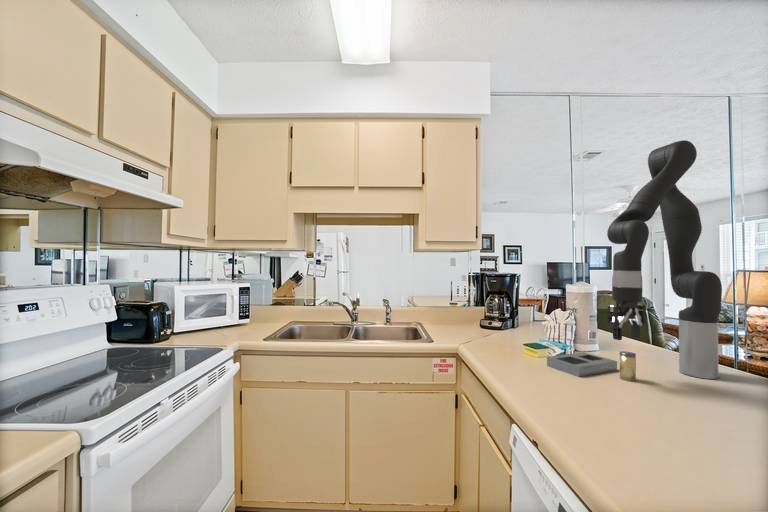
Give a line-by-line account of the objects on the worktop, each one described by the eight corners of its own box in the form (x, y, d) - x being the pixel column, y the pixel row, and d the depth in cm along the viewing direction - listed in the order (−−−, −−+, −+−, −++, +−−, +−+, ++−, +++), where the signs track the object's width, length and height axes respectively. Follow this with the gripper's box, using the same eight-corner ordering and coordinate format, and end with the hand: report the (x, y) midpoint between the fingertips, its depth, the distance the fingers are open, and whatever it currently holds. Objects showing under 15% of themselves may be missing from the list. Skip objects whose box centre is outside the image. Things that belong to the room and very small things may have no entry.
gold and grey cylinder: (625, 376, 104) (624, 350, 104) (639, 380, 101) (638, 354, 101) (616, 378, 103) (616, 352, 103) (630, 382, 99) (630, 355, 99)
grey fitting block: (583, 360, 122) (583, 352, 122) (617, 370, 110) (617, 361, 111) (546, 365, 115) (546, 357, 115) (579, 376, 104) (579, 367, 104)
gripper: (629, 284, 109) (628, 334, 108) (599, 284, 103) (598, 337, 103) (655, 286, 102) (654, 340, 101) (624, 286, 96) (624, 343, 96)
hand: (626, 338), depth 102 cm, fingers open, 8 cm apart
